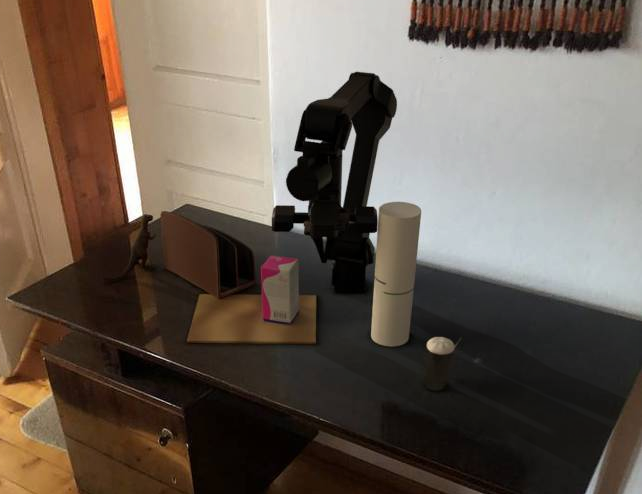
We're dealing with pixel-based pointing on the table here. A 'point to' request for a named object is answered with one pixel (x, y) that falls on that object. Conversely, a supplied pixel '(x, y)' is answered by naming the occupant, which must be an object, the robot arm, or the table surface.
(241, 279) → the letter holder
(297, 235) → the table surface
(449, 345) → the milkshake
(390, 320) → the cylindrical container
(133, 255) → the dinosaur model
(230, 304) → the desk mat
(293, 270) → the supplement box
